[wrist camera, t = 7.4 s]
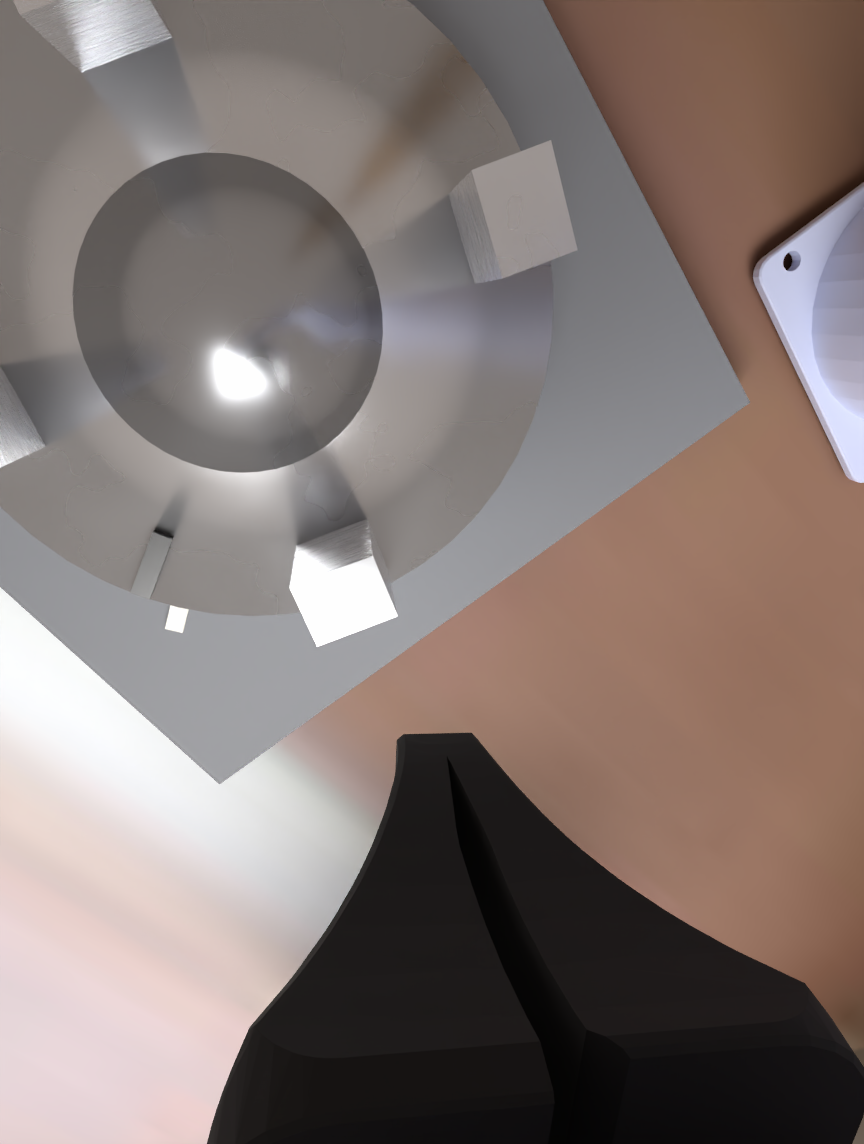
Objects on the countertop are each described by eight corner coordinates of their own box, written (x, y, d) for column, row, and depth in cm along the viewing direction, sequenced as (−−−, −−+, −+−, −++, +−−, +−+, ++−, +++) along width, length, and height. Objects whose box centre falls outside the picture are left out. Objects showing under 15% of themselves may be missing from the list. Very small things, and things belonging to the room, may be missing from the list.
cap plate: (304, -408, 14) (301, -477, 13) (728, 397, 21) (753, 402, 20) (-360, 223, 16) (-419, 215, 15) (225, 761, 23) (218, 787, 22)
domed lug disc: (429, -162, 15) (463, -333, 11) (600, 489, 20) (663, 532, 16) (-236, 92, 15) (-442, 14, 11) (117, 671, 20) (65, 758, 16)
